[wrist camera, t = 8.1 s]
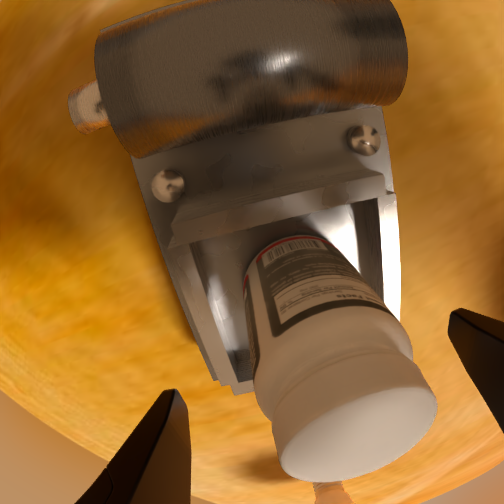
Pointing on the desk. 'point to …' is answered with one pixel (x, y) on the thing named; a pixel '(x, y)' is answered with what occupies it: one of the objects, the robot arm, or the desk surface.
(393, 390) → the pill bottle
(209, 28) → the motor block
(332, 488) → the lightbulb
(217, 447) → the desk surface
